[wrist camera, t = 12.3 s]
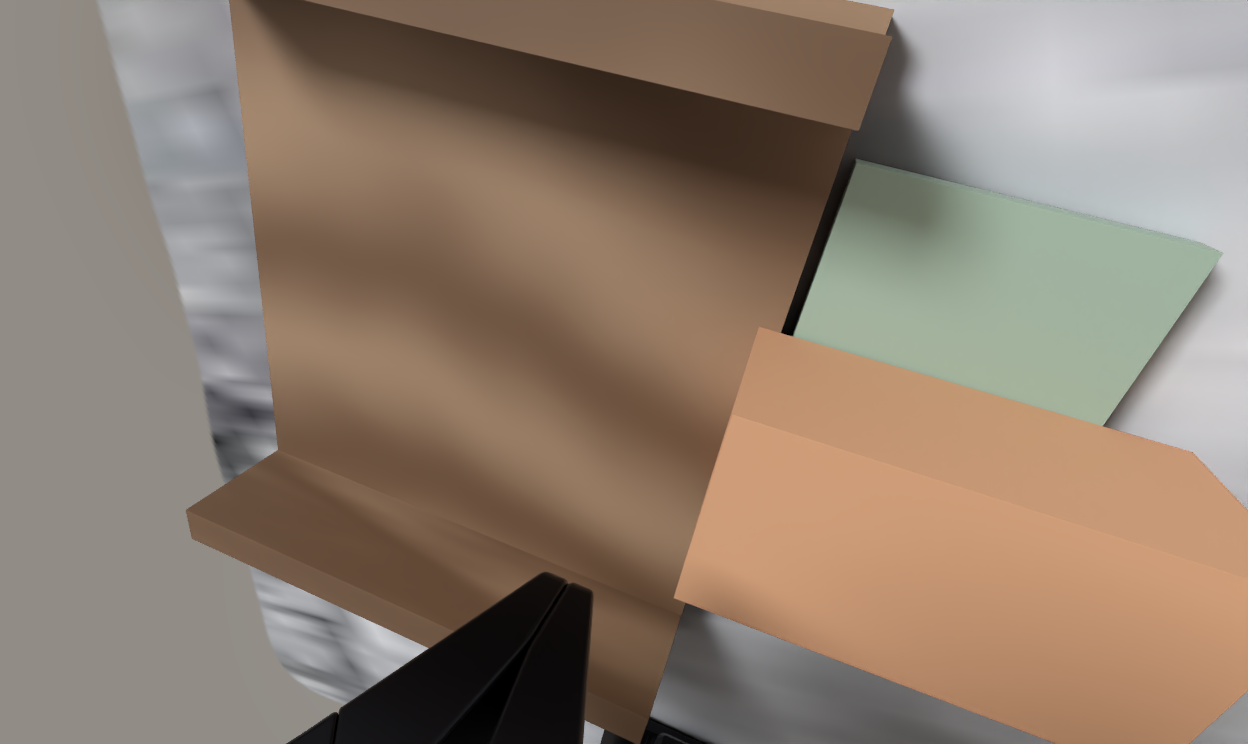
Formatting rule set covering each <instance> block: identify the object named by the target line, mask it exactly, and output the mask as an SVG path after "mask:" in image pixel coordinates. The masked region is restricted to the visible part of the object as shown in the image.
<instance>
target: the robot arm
mask: <svg viewBox="0 0 1248 744" xmlns="http://www.w3.org/2000/svg"><path fill="white" fill-rule="evenodd" d="M593 604H594V592H593V591H592V590H591V589H589V588H586V587H584V586H582V585H579V584H577V583H574V582H571V583H569V584H568V581H567V580H566V579H565V578H562V577H560V576H557V575H555V574H553V573H550V572H547V571H546V572H542V573H540V574H538V575H537V576H535V577H534V578H532V579H531V580H529V581H528V582H526V583H525V584H524V585H522V586H521V587H519V588H518V589H516V590H515V591H513V592H512V593H510V594H509V595H507V596H506V597H504V598H503V599H501V600H500V601H498V602H497V603H495V604H494V605H492V606H491V607H489V608H488V609H486V610H485V611H483V612H482V613H481V614H479V615H478V616H476V617H475V618H473V619H472V620H470V621H469V622H467V623H466V624H464V625H463V626H461V627H460V628H458V629H457V630H455V631H454V632H452V633H451V634H449V635H448V636H446V637H445V638H443V639H442V640H441V641H439V642H438V643H436V644H435V645H433V646H432V647H430V648H429V649H427V650H426V651H424V652H423V653H421V654H420V655H418V656H417V657H415V658H414V659H412V660H411V661H409V662H408V663H406V664H405V665H403V666H402V667H400V668H399V669H398V670H396V671H395V672H393V673H392V674H390V675H389V676H387V677H386V678H384V679H383V680H381V681H380V682H378V683H377V684H375V685H374V686H372V687H371V688H369V689H368V690H366V691H365V692H363V693H362V694H360V695H359V696H358V697H356V698H355V699H353V700H352V701H350V702H349V703H347V704H346V705H344V706H343V707H341V708H340V710H339V714H338V713H337V712H334V713H332V714H330V715H329V716H327V717H326V718H324V719H323V720H322V721H320V722H319V723H317V724H316V725H314V726H313V727H311V728H310V729H308V730H307V731H305V732H304V733H302V734H301V735H299V736H298V737H296V738H294V739H293V740H291V741H290V742H288V743H287V744H583V735H584V722H585V709H586V696H587V683H588V670H589V656H590V643H591V630H592V617H593ZM601 744H635V743H633V742H631V741H629V740H627V739H625V738H622V737H620V736H618V735H616V734H614V733H612V732H609V731H607V730H604V734H603V737H602V740H601ZM640 744H703V743H701V742H698V741H696V740H694V739H692V738H689V737H687V736H685V735H683V734H681V733H678V732H676V731H674V730H672V729H670V728H667V727H665V726H663V725H661V724H658V723H656V722H654V721H652V720H650V719H649V720H648V723H647V725H646V728H645V731H644V734H643V737H642V739H641V742H640Z"/></svg>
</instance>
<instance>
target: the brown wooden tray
mask: <svg viewBox="0 0 1248 744" xmlns="http://www.w3.org/2000/svg"><path fill="white" fill-rule="evenodd" d="M229 3H230V12H231V22H232V31H233V40H234V49H235V58H236V67H237V77H238V86H239V95H240V104H241V113H242V123H243V132H244V141H245V150H246V159H247V168H248V178H249V187H250V196H251V205H252V214H253V223H254V233H255V242H256V251H257V260H258V269H259V278H260V288H261V297H262V306H263V315H264V324H265V333H266V343H267V352H268V361H269V370H270V379H271V388H272V398H273V407H274V416H275V425H276V434H277V443H278V450H277V451H276V452H274V453H273V454H271V455H270V456H268V457H267V458H265V459H263V460H262V461H260V462H259V463H257V464H256V465H254V466H253V467H251V468H250V469H248V470H247V471H245V472H244V473H242V474H240V475H239V476H237V477H236V478H234V479H233V480H231V481H230V482H228V483H227V484H225V485H224V486H222V487H220V488H219V489H218V490H216V491H214V492H213V493H211V494H210V495H208V496H207V497H205V498H204V499H202V500H201V501H199V502H197V503H196V504H194V505H193V506H191V507H190V508H188V509H187V510H186V513H187V517H188V522H189V527H190V532H191V536H192V539H194V540H196V541H198V542H200V543H203V544H205V545H207V546H209V547H211V548H213V549H216V550H218V551H220V552H222V553H224V554H226V555H229V556H231V557H233V558H235V559H238V560H240V561H242V562H244V563H246V564H248V565H250V566H252V567H255V568H257V569H259V570H261V571H263V572H265V573H268V574H270V575H272V576H274V577H276V578H278V579H281V580H283V581H285V582H287V583H289V584H291V585H294V586H296V587H298V588H300V589H302V590H304V591H306V592H309V593H311V594H313V595H315V596H317V597H319V598H322V599H324V600H326V601H328V602H330V603H332V604H335V605H337V606H339V607H341V608H343V609H345V610H348V611H350V612H352V613H354V614H356V615H358V616H361V617H363V618H365V619H367V620H369V621H371V622H374V623H376V624H378V625H380V626H382V627H384V628H387V629H389V630H391V631H393V632H395V633H397V634H400V635H402V636H404V637H406V638H408V639H410V640H413V641H415V642H417V643H419V644H421V645H423V646H425V647H428V648H430V647H432V646H433V645H435V644H436V643H438V642H439V641H441V640H442V639H443V638H445V637H446V636H448V635H449V634H451V633H452V632H454V631H455V630H457V629H458V628H460V627H461V626H463V625H464V624H466V623H467V622H469V621H470V620H472V619H473V618H475V617H476V616H478V615H479V614H481V613H482V612H483V611H485V610H486V609H488V608H489V607H491V606H492V605H494V604H495V603H497V602H498V601H500V600H501V599H503V598H504V597H506V596H507V595H509V594H510V593H512V592H513V591H515V590H516V589H518V588H519V587H521V586H522V585H524V584H525V583H526V582H528V581H529V580H531V579H532V578H534V577H535V576H537V575H538V574H540V573H542V572H546V571H547V572H550V573H553V574H555V575H557V576H560V577H562V578H565V579H566V580H567V581H568V584H569V583H571V582H574V583H577V584H579V585H582V586H584V587H586V588H589V589H591V590H592V591H593V592H594V604H593V617H592V630H591V643H590V656H589V670H588V683H587V696H586V709H585V720H586V721H588V722H590V723H592V724H594V725H596V726H599V727H601V728H603V729H605V730H607V731H609V732H612V733H614V734H616V735H618V736H620V737H622V738H625V739H627V740H629V741H631V742H633V743H635V744H640V742H641V739H642V737H643V734H644V731H645V728H646V725H647V723H648V720H649V717H650V713H651V710H652V707H653V704H654V701H655V698H656V694H657V691H658V688H659V685H660V682H661V678H662V675H663V672H664V669H665V666H666V662H667V659H668V656H669V653H670V650H671V647H672V643H673V640H674V637H675V634H676V631H677V627H678V624H679V621H680V618H681V615H682V612H683V609H684V606H685V604H686V602H683V601H680V600H678V599H675V598H674V595H675V592H676V588H677V585H678V582H679V579H680V575H681V572H682V569H683V566H684V562H685V559H686V556H687V553H688V550H689V546H690V543H691V540H692V537H693V533H694V530H695V527H696V524H697V520H698V517H699V514H700V511H701V507H702V504H703V501H704V498H705V494H706V491H707V488H708V485H709V481H710V478H711V475H712V472H713V469H714V466H715V463H716V460H717V456H718V453H719V450H720V447H721V444H722V441H723V438H724V434H725V431H726V428H727V425H728V422H729V419H730V416H731V413H732V409H733V406H734V403H735V400H736V397H737V394H738V391H739V387H740V384H741V381H742V378H743V375H744V372H745V369H746V365H747V362H748V359H749V356H750V353H751V350H752V347H753V344H754V340H755V337H756V334H757V331H758V328H759V327H762V328H765V329H768V330H772V331H775V332H779V333H781V331H782V328H783V325H784V322H785V319H786V316H787V314H788V311H789V308H790V305H791V302H792V299H793V296H794V294H795V291H796V288H797V285H798V282H799V279H800V277H801V274H802V271H803V268H804V265H805V262H806V260H807V257H808V254H809V251H810V248H811V245H812V242H813V240H814V237H815V234H816V231H817V228H818V225H819V223H820V220H821V217H822V214H823V211H824V208H825V205H826V203H827V200H828V197H829V194H830V191H831V188H832V186H833V183H834V180H835V177H836V174H837V171H838V169H839V166H840V163H841V160H842V157H843V154H844V151H845V149H846V146H847V143H848V140H849V137H850V134H851V132H852V130H856V131H859V129H860V126H861V123H862V120H863V118H864V115H865V112H866V109H867V106H868V104H869V101H870V98H871V95H872V92H873V90H874V87H875V84H876V81H877V78H878V76H879V73H880V70H881V67H882V64H883V62H884V59H885V56H886V53H887V50H888V48H889V45H890V42H891V39H892V36H888V35H886V32H887V29H888V26H889V24H890V21H891V18H892V15H893V12H894V9H888V8H883V7H878V6H873V5H868V4H863V3H858V2H853V1H847V0H229Z"/></svg>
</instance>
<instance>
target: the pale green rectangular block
mask: <svg viewBox="0 0 1248 744" xmlns="http://www.w3.org/2000/svg"><path fill="white" fill-rule="evenodd" d="M1222 254H1223V253H1222V252H1220V251H1218V250H1215V249H1213V248H1211V247H1209V246H1207V245H1205V244H1203V243H1200V242H1196V241H1192V240H1188V239H1184V238H1180V237H1176V236H1171V235H1167V234H1163V233H1159V232H1155V231H1151V230H1147V229H1143V228H1139V227H1135V226H1130V225H1126V224H1122V223H1118V222H1114V221H1110V220H1106V219H1102V218H1098V217H1094V216H1089V215H1085V214H1081V213H1077V212H1073V211H1069V210H1065V209H1061V208H1057V207H1053V206H1048V205H1044V204H1040V203H1036V202H1032V201H1028V200H1024V199H1020V198H1016V197H1012V196H1007V195H1003V194H999V193H995V192H991V191H987V190H983V189H979V188H975V187H971V186H966V185H962V184H958V183H954V182H950V181H946V180H942V179H938V178H934V177H930V176H925V175H921V174H917V173H913V172H909V171H905V170H901V169H897V168H893V167H889V166H884V165H880V164H876V163H872V162H868V161H864V160H860V159H856V160H855V163H854V165H853V168H852V171H851V174H850V176H849V179H848V182H847V185H846V187H845V190H844V193H843V196H842V199H841V201H840V204H839V207H838V210H837V212H836V215H835V218H834V221H833V223H832V226H831V229H830V232H829V234H828V237H827V240H826V243H825V245H824V248H823V251H822V254H821V256H820V259H819V262H818V265H817V267H816V270H815V273H814V276H813V278H812V281H811V284H810V287H809V290H808V292H807V295H806V298H805V301H804V303H803V306H802V309H801V312H800V314H799V317H798V320H797V323H796V325H795V328H794V331H793V334H792V336H793V337H796V338H800V339H803V340H806V341H810V342H813V343H817V344H820V345H824V346H827V347H831V348H834V349H838V350H841V351H844V352H848V353H851V354H855V355H858V356H862V357H865V358H869V359H872V360H876V361H879V362H882V363H886V364H889V365H893V366H896V367H900V368H903V369H907V370H910V371H914V372H917V373H920V374H924V375H927V376H931V377H934V378H938V379H941V380H945V381H948V382H952V383H955V384H958V385H962V386H965V387H969V388H972V389H976V390H979V391H983V392H986V393H990V394H993V395H996V396H1000V397H1003V398H1007V399H1010V400H1014V401H1017V402H1021V403H1024V404H1028V405H1031V406H1034V407H1038V408H1041V409H1045V410H1048V411H1052V412H1055V413H1059V414H1062V415H1066V416H1069V417H1072V418H1076V419H1079V420H1083V421H1086V422H1090V423H1093V424H1097V425H1100V426H1103V425H1104V424H1105V422H1106V421H1107V419H1108V418H1109V416H1110V415H1111V414H1112V412H1113V411H1114V409H1115V408H1116V406H1117V405H1118V403H1119V402H1120V401H1121V399H1122V398H1123V396H1124V395H1125V393H1126V392H1127V391H1128V389H1129V388H1130V386H1131V385H1132V383H1133V382H1134V381H1135V379H1136V378H1137V376H1138V375H1139V373H1140V372H1141V371H1142V369H1143V368H1144V366H1145V365H1146V363H1147V362H1148V360H1149V359H1150V358H1151V356H1152V355H1153V353H1154V352H1155V350H1156V349H1157V348H1158V346H1159V345H1160V343H1161V342H1162V340H1163V339H1164V338H1165V336H1166V335H1167V333H1168V332H1169V330H1170V329H1171V328H1172V326H1173V325H1174V323H1175V322H1176V320H1177V319H1178V318H1179V316H1180V315H1181V313H1182V312H1183V310H1184V309H1185V307H1186V306H1187V305H1188V303H1189V302H1190V300H1191V299H1192V297H1193V296H1194V295H1195V293H1196V292H1197V290H1198V289H1199V287H1200V286H1201V285H1202V283H1203V282H1204V280H1205V279H1206V277H1207V276H1208V275H1209V273H1210V272H1211V270H1212V269H1213V267H1214V266H1215V264H1216V263H1217V262H1218V260H1219V259H1220V257H1221V256H1222Z"/></svg>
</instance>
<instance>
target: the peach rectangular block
mask: <svg viewBox="0 0 1248 744" xmlns="http://www.w3.org/2000/svg"><path fill="white" fill-rule="evenodd" d="M674 598H675V599H678V600H680V601H683V602H686V603H688V604H691V605H693V606H696V607H699V608H701V609H704V610H706V611H709V612H712V613H714V614H717V615H720V616H722V617H725V618H727V619H730V620H733V621H735V622H738V623H741V624H743V625H746V626H748V627H751V628H754V629H756V630H759V631H762V632H764V633H767V634H769V635H772V636H775V637H777V638H780V639H783V640H785V641H788V642H790V643H793V644H796V645H798V646H801V647H804V648H806V649H809V650H811V651H814V652H817V653H819V654H822V655H825V656H827V657H830V658H832V659H835V660H838V661H840V662H843V663H846V664H848V665H851V666H853V667H856V668H859V669H861V670H864V671H867V672H869V673H872V674H874V675H877V676H880V677H882V678H885V679H887V680H890V681H893V682H895V683H898V684H901V685H903V686H906V687H908V688H911V689H914V690H916V691H919V692H922V693H924V694H927V695H929V696H932V697H935V698H937V699H940V700H943V701H945V702H948V703H950V704H953V705H956V706H958V707H961V708H964V709H966V710H969V711H971V712H974V713H977V714H979V715H982V716H985V717H987V718H990V719H992V720H995V721H998V722H1000V723H1003V724H1006V725H1008V726H1011V727H1013V728H1016V729H1019V730H1021V731H1024V732H1027V733H1029V734H1032V735H1034V736H1037V737H1040V738H1042V739H1045V740H1048V741H1050V742H1053V743H1055V744H1189V743H1191V742H1192V741H1193V740H1194V739H1195V738H1196V737H1197V736H1198V735H1199V734H1201V733H1202V732H1203V731H1204V730H1205V729H1206V728H1207V727H1208V726H1209V725H1210V724H1212V723H1213V722H1214V721H1215V720H1216V719H1217V718H1218V717H1219V716H1220V715H1222V714H1223V713H1224V712H1225V711H1226V710H1227V709H1228V708H1229V707H1230V706H1232V705H1233V704H1234V703H1235V702H1236V701H1237V700H1238V699H1239V698H1240V697H1241V696H1243V695H1244V694H1245V693H1246V692H1247V691H1248V510H1247V509H1246V508H1245V507H1244V506H1243V505H1242V504H1241V503H1240V502H1239V501H1238V500H1237V499H1236V498H1235V497H1234V495H1233V494H1232V493H1231V492H1230V491H1229V490H1228V489H1227V488H1226V487H1225V486H1224V485H1223V484H1222V483H1221V482H1220V481H1219V480H1218V479H1217V477H1216V476H1215V475H1214V474H1213V473H1212V472H1211V471H1210V470H1209V469H1208V468H1207V467H1206V466H1205V465H1204V464H1203V463H1202V462H1201V461H1200V460H1199V458H1198V457H1197V456H1196V455H1195V454H1194V453H1193V452H1190V451H1186V450H1183V449H1180V448H1176V447H1173V446H1169V445H1166V444H1162V443H1159V442H1155V441H1152V440H1148V439H1145V438H1142V437H1138V436H1135V435H1131V434H1128V433H1124V432H1121V431H1117V430H1114V429H1110V428H1107V427H1104V426H1100V425H1097V424H1093V423H1090V422H1086V421H1083V420H1079V419H1076V418H1072V417H1069V416H1066V415H1062V414H1059V413H1055V412H1052V411H1048V410H1045V409H1041V408H1038V407H1034V406H1031V405H1028V404H1024V403H1021V402H1017V401H1014V400H1010V399H1007V398H1003V397H1000V396H996V395H993V394H990V393H986V392H983V391H979V390H976V389H972V388H969V387H965V386H962V385H958V384H955V383H952V382H948V381H945V380H941V379H938V378H934V377H931V376H927V375H924V374H920V373H917V372H914V371H910V370H907V369H903V368H900V367H896V366H893V365H889V364H886V363H882V362H879V361H876V360H872V359H869V358H865V357H862V356H858V355H855V354H851V353H848V352H844V351H841V350H838V349H834V348H831V347H827V346H824V345H820V344H817V343H813V342H810V341H806V340H803V339H800V338H796V337H793V336H789V335H786V334H782V333H779V332H775V331H772V330H768V329H765V328H762V327H759V328H758V331H757V334H756V337H755V340H754V344H753V347H752V350H751V353H750V356H749V359H748V362H747V365H746V369H745V372H744V375H743V378H742V381H741V384H740V387H739V391H738V394H737V397H736V400H735V403H734V406H733V409H732V413H731V416H730V419H729V422H728V425H727V428H726V431H725V434H724V438H723V441H722V444H721V447H720V450H719V453H718V456H717V460H716V463H715V466H714V469H713V472H712V475H711V478H710V481H709V485H708V488H707V491H706V494H705V498H704V501H703V504H702V507H701V511H700V514H699V517H698V520H697V524H696V527H695V530H694V533H693V537H692V540H691V543H690V546H689V550H688V553H687V556H686V559H685V562H684V566H683V569H682V572H681V575H680V579H679V582H678V585H677V588H676V592H675V595H674Z"/></svg>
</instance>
